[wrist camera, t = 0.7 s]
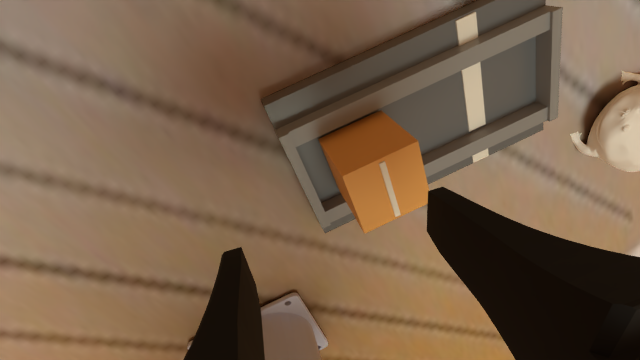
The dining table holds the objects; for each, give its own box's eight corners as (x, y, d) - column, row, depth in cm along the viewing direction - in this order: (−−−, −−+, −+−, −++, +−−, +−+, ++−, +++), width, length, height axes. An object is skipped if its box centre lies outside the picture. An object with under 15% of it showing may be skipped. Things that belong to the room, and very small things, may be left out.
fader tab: (339, 190, 23) (365, 234, 19) (318, 139, 21) (342, 177, 17) (395, 164, 23) (432, 202, 19) (380, 110, 21) (419, 141, 17)
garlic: (556, 137, 28) (601, 159, 25) (622, 57, 26) (680, 70, 23) (605, 170, 32) (649, 192, 29) (667, 102, 29) (722, 119, 26)
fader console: (320, 222, 26) (329, 244, 24) (260, 99, 20) (267, 114, 18) (530, 123, 26) (557, 136, 24) (529, -24, 21) (563, -23, 19)
